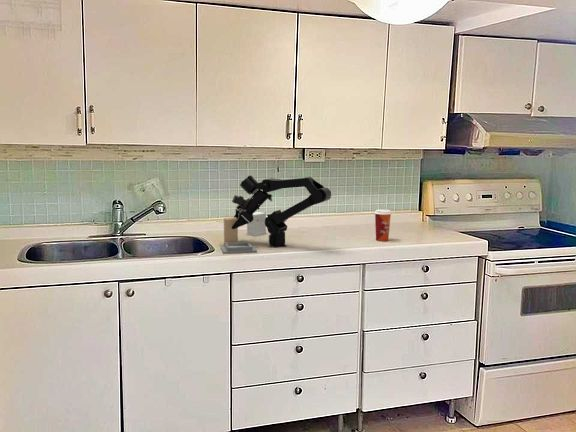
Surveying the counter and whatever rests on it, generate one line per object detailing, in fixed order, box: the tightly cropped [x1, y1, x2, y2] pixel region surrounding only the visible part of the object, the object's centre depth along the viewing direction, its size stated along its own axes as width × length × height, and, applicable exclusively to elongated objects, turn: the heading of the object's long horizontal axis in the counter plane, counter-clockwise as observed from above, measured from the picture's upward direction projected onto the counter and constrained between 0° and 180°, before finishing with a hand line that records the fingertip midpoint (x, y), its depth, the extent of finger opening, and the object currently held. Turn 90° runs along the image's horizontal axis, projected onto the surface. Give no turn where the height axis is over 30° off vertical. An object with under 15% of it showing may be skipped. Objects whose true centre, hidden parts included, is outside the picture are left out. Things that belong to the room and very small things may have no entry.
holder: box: [220, 241, 258, 255], centre depth 239 cm, size 14×12×2 cm
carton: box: [223, 216, 239, 246], centre depth 249 cm, size 6×6×12 cm
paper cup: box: [374, 208, 392, 242], centre depth 261 cm, size 8×8×14 cm
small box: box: [246, 211, 267, 237], centre depth 274 cm, size 8×6×10 cm
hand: (231, 226), depth 249 cm, fingers open, 9 cm apart
